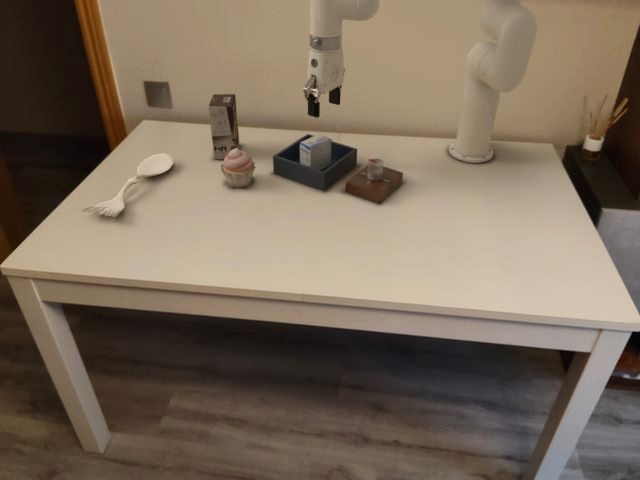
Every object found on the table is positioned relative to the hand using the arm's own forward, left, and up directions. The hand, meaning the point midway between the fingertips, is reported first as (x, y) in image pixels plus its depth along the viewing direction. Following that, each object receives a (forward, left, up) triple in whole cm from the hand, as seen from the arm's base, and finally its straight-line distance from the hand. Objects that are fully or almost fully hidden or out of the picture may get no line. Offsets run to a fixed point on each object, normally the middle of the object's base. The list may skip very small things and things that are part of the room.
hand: (324, 109), depth 140 cm
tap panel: (-1, +15, -18) cm, 24 cm away
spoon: (+35, -35, -19) cm, 53 cm away
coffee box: (+6, -30, -19) cm, 35 cm away
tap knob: (-1, +15, -15) cm, 22 cm away
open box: (0, -3, -18) cm, 18 cm away
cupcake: (+17, -16, -19) cm, 30 cm away
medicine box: (0, -3, -18) cm, 18 cm away
